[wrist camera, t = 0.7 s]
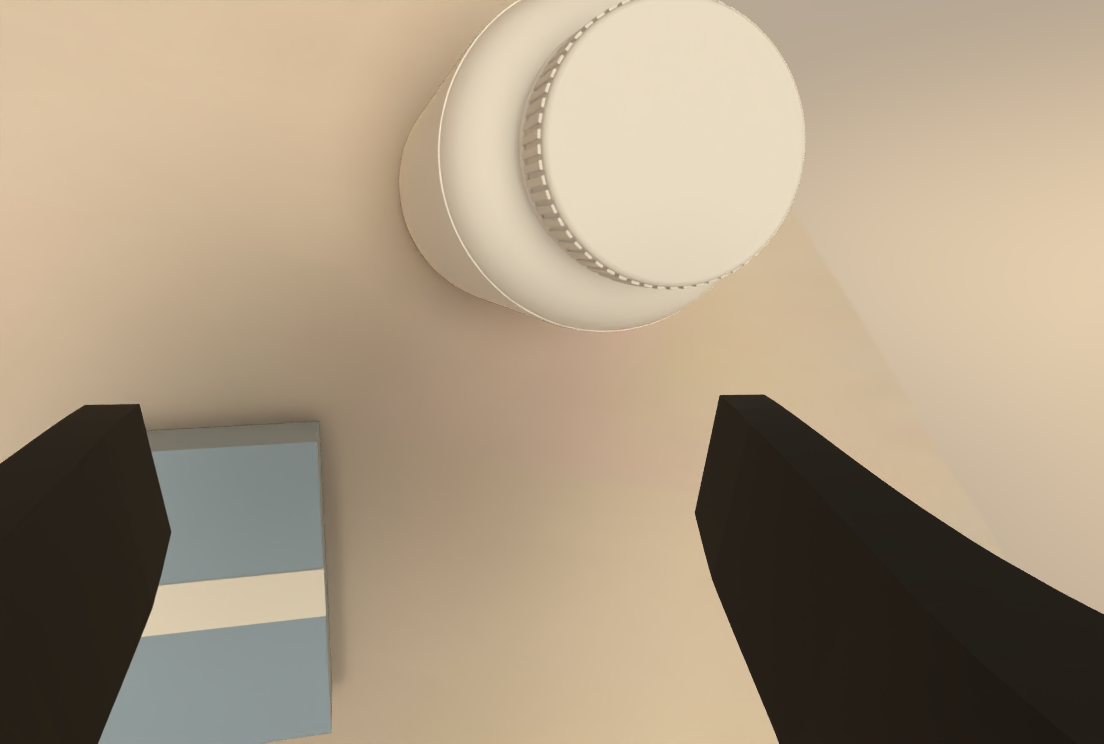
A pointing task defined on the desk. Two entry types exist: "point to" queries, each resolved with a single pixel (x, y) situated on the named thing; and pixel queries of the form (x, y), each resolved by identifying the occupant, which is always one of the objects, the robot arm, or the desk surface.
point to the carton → (234, 594)
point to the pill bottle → (604, 159)
